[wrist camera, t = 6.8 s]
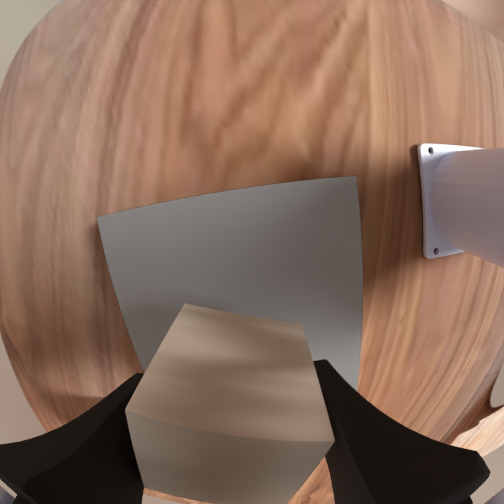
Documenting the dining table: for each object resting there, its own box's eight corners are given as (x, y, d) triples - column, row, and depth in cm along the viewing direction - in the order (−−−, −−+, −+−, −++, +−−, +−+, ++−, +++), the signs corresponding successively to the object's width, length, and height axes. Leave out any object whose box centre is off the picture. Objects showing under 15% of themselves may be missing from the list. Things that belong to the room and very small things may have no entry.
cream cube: (301, 323, 11) (334, 440, 5) (275, 404, 12) (282, 508, 6) (184, 303, 11) (125, 409, 5) (179, 387, 12) (144, 487, 6)
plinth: (338, 177, 15) (356, 175, 13) (345, 367, 19) (356, 392, 16) (120, 211, 16) (96, 217, 13) (170, 384, 19) (161, 409, 17)
